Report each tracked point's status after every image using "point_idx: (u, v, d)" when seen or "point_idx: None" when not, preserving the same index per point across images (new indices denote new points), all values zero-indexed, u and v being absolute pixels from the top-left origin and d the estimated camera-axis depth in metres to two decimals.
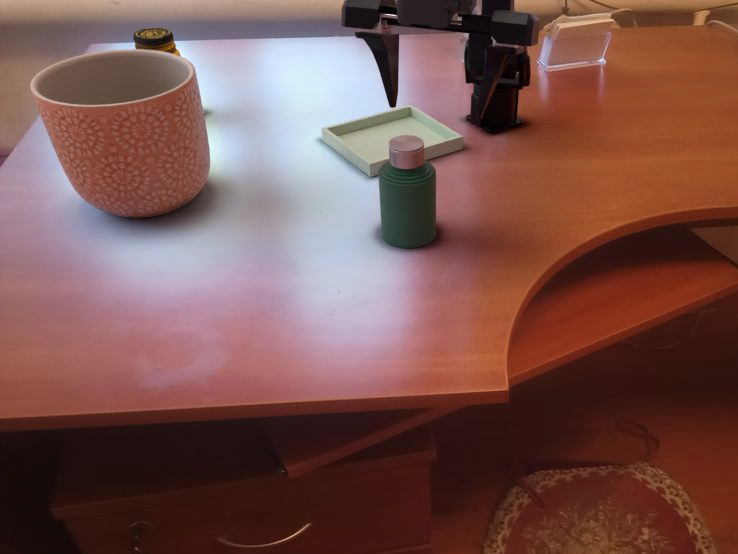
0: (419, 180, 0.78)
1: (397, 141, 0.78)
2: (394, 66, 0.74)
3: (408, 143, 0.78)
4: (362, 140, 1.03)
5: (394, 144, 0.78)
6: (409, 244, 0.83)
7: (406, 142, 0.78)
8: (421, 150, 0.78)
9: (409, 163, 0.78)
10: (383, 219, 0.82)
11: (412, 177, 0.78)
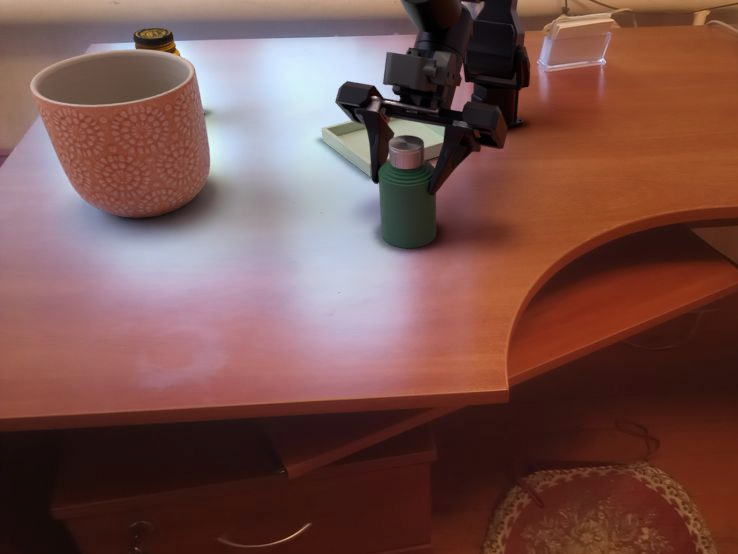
0: (419, 180, 0.78)
1: (397, 141, 0.78)
2: (384, 150, 0.82)
3: (408, 143, 0.78)
4: (362, 140, 1.03)
5: (394, 144, 0.78)
6: (409, 244, 0.83)
7: (406, 142, 0.78)
8: (421, 150, 0.78)
9: (409, 163, 0.78)
10: (383, 219, 0.82)
11: (412, 177, 0.78)
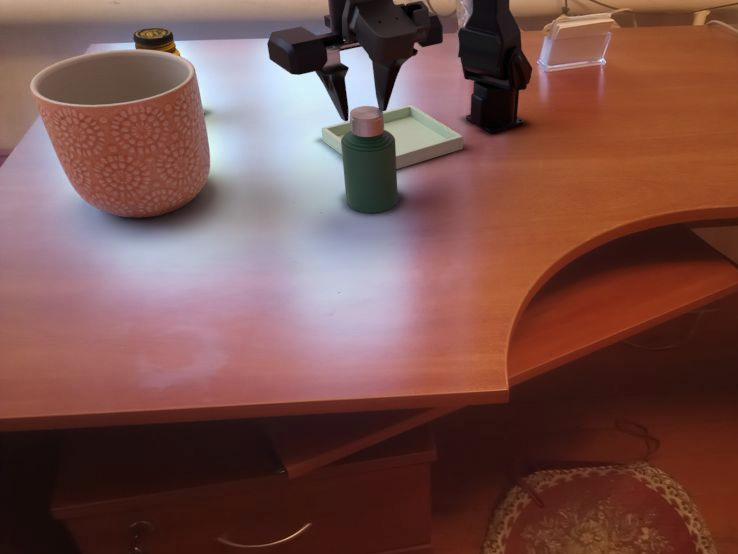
0: (372, 148, 0.84)
1: (359, 110, 0.84)
2: None
3: (367, 113, 0.83)
4: None
5: (354, 112, 0.83)
6: (364, 209, 0.88)
7: (366, 112, 0.84)
8: (377, 120, 0.83)
9: (365, 131, 0.83)
10: None
11: (367, 145, 0.84)
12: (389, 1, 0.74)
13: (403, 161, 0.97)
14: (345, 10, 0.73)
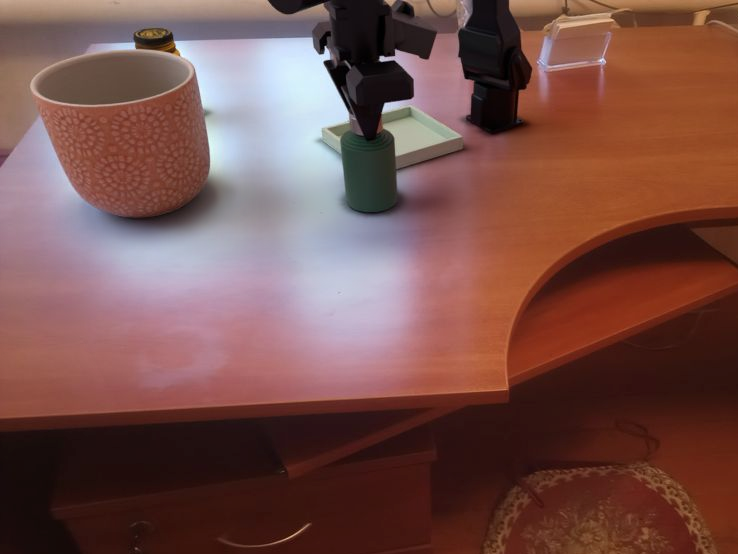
0: (372, 147, 0.83)
1: None
2: None
3: None
4: None
5: None
6: (364, 208, 0.88)
7: None
8: None
9: (381, 125, 0.84)
10: (344, 182, 0.88)
11: (366, 144, 0.83)
12: None
13: (403, 161, 0.97)
14: (387, 28, 0.76)
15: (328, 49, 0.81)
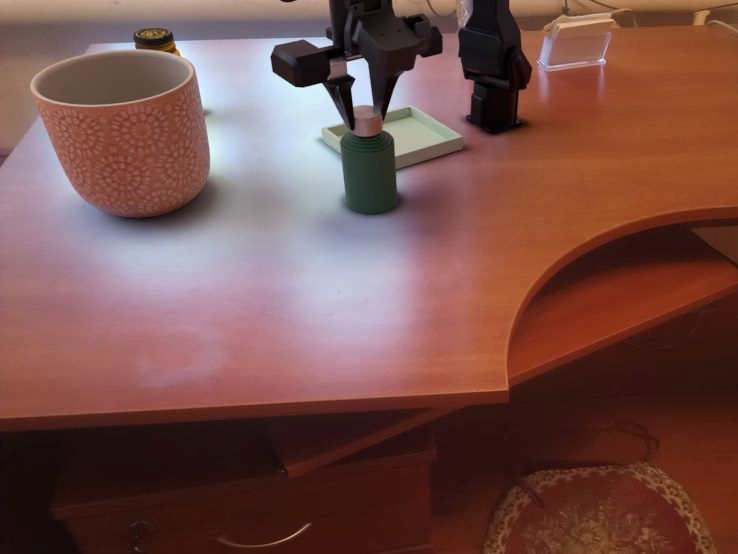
0: (371, 149, 0.83)
1: (369, 114, 0.83)
2: None
3: (364, 110, 0.83)
4: None
5: (375, 113, 0.83)
6: (364, 209, 0.88)
7: (364, 111, 0.83)
8: None
9: None
10: (344, 183, 0.88)
11: (365, 146, 0.84)
12: (391, 14, 0.74)
13: (403, 161, 0.97)
14: (347, 23, 0.73)
15: None
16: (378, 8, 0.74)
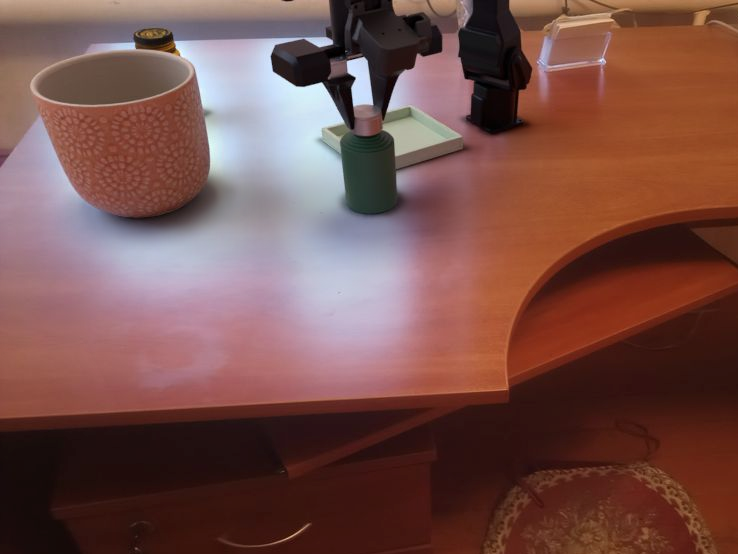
0: (371, 149, 0.83)
1: (373, 109, 0.83)
2: None
3: (362, 110, 0.83)
4: None
5: (372, 107, 0.84)
6: (364, 209, 0.88)
7: (364, 111, 0.83)
8: None
9: None
10: (344, 183, 0.88)
11: (365, 146, 0.84)
12: (391, 13, 0.74)
13: (403, 161, 0.97)
14: (347, 22, 0.73)
15: None
16: (378, 7, 0.74)
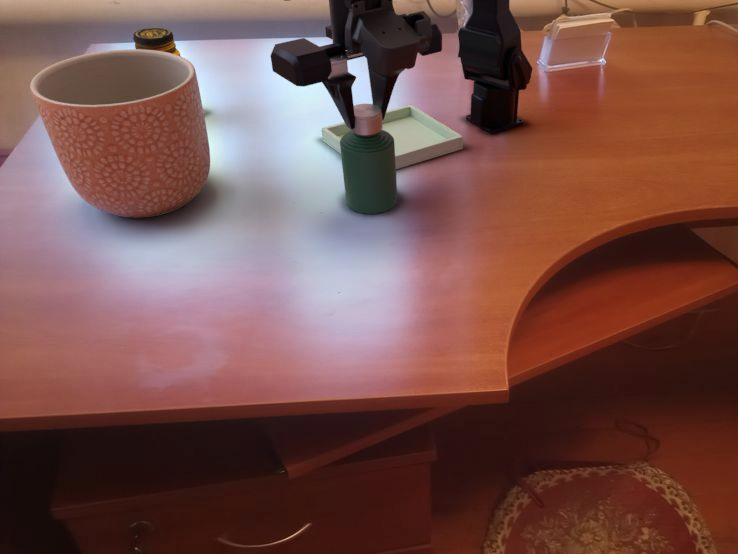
0: (371, 149, 0.83)
1: (364, 106, 0.84)
2: None
3: (363, 111, 0.83)
4: None
5: (357, 106, 0.84)
6: (364, 209, 0.88)
7: (365, 110, 0.83)
8: (361, 120, 0.82)
9: None
10: (344, 183, 0.88)
11: (365, 146, 0.84)
12: (391, 12, 0.74)
13: (403, 161, 0.97)
14: (348, 22, 0.73)
15: None
16: (378, 6, 0.74)
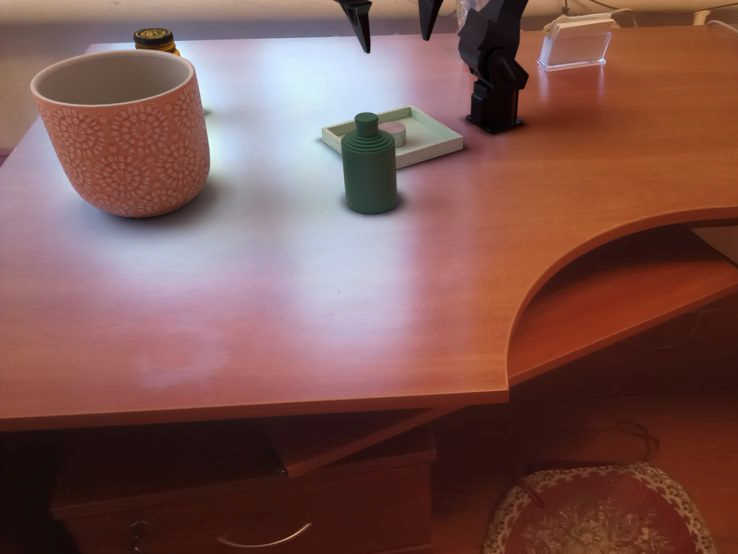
0: (372, 149, 0.84)
1: (385, 126, 1.01)
2: None
3: (393, 127, 1.01)
4: None
5: (383, 128, 1.01)
6: (364, 210, 0.88)
7: (392, 127, 1.01)
8: (404, 132, 1.01)
9: (395, 143, 1.01)
10: None
11: (366, 146, 0.84)
12: None
13: (403, 161, 0.97)
14: None
15: None
16: None
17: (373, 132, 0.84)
